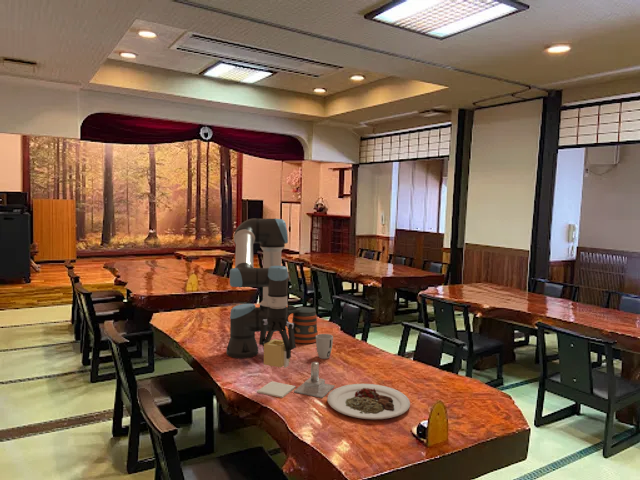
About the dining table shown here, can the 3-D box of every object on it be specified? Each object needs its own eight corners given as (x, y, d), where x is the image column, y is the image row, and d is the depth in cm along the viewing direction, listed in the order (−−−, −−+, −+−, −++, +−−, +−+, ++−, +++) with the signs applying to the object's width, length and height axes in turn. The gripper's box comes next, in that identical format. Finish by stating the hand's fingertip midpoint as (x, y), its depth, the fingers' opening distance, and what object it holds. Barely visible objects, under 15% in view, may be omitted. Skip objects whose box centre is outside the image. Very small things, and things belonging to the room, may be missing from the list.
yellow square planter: (263, 364, 180) (263, 344, 180) (273, 358, 187) (273, 339, 186) (280, 367, 177) (280, 346, 177) (289, 361, 184) (290, 341, 183)
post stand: (293, 392, 181) (294, 365, 180) (307, 381, 192) (307, 356, 191) (322, 398, 176) (322, 370, 176) (334, 386, 187) (335, 360, 187)
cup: (330, 360, 218) (331, 339, 217) (313, 359, 220) (314, 338, 219) (333, 355, 226) (334, 334, 225) (317, 353, 228) (317, 333, 227)
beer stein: (294, 347, 236) (294, 308, 234) (278, 340, 248) (278, 303, 246) (323, 341, 248) (324, 303, 246) (307, 334, 259) (307, 298, 258)
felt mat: (257, 392, 180) (257, 391, 180) (271, 382, 190) (271, 381, 190) (282, 397, 176) (282, 396, 176) (295, 387, 186) (295, 386, 186)
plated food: (351, 430, 153) (351, 420, 152) (314, 395, 180) (314, 386, 180) (427, 414, 165) (427, 405, 165) (381, 383, 192) (381, 375, 192)
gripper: (249, 305, 181) (249, 363, 183) (296, 311, 173) (296, 372, 175) (259, 302, 188) (259, 358, 190) (305, 307, 180) (304, 365, 182)
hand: (276, 364), depth 182 cm, fingers closed on yellow square planter, 7 cm apart
